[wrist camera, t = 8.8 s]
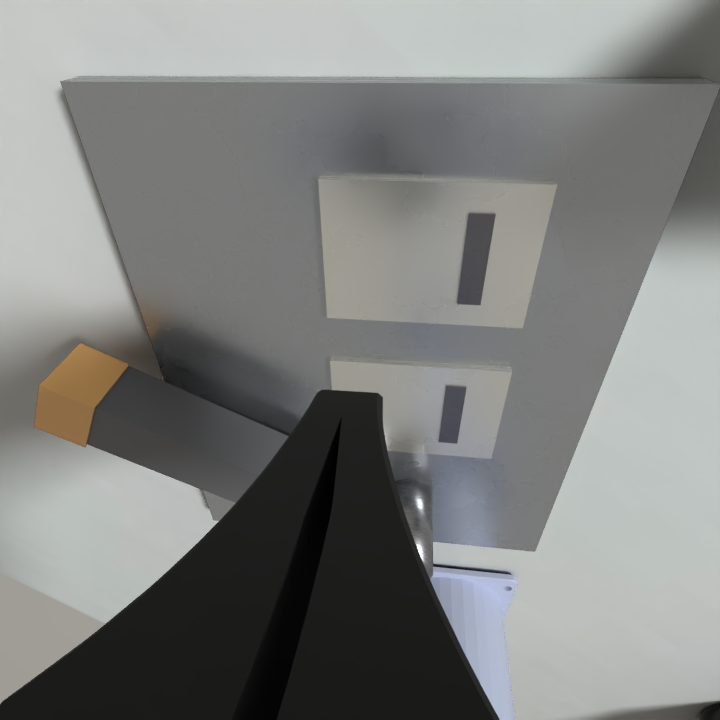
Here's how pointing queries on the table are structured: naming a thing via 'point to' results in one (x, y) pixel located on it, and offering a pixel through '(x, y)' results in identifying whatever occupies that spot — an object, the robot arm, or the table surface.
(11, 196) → the table surface
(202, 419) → the swing bar
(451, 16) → the table surface
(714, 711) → the supplement bottle
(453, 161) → the grey lever board
